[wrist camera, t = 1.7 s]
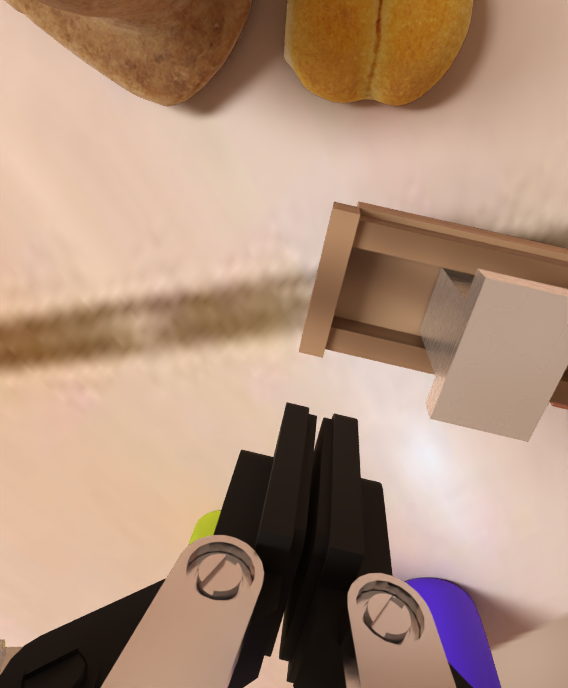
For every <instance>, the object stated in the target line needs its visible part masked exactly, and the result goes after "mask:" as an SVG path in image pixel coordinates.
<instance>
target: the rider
mask: <svg viewBox="0 0 568 688" xmlns="http://www.w3.org/2000/svg"><path fill="white" fill-rule="evenodd" d="M419 331H420V334H421V337H422V340H423V342H424V345H425V348H426V351H427V354H428V356H429V359H430V362H431V365H432V368H433V371H434V373H435V376H436V378H435V380H434V383H433V385H432V388H431V391H430V393H429V396H428V398H427V401H426V406H427V410H428V413H429V416H430V419H434V420H438V421H442V422H446V423H451V424H455V425H459V426H463V427H468V428H472V429H476V430H480V431H485V432H489V433H493V434H497V435H502V436H506V437H510V438H514V439H518V440H523V441H527V442H529V440H530V438H531V436H532V434H533V432H534V430H535V428H536V426H537V424H538V422H539V420H540V418H541V416H542V414H543V412H544V410H545V408H546V406H547V404H548V403H549V401H550V399H551V397H552V395H553V393H554V391H555V389H556V387H557V385H558V383H559V381H560V379H561V377H562V375H563V373H564V371H565V369H566V367H567V365H568V289H565V288H560V287H556V286H552V285H547V284H543V283H539V282H534V281H530V280H525V279H521V278H517V277H512V276H508V275H503V274H499V273H495V272H490V271H486V270H482V269H477V271H476V274H475V275H474V274H469V273H465V272H461V271H456V270H452V269H448V268H443V267H441V270H440V273H439V276H438V279H437V282H436V284H435V287H434V290H433V293H432V296H431V299H430V302H429V304H428V307H427V310H426V313H425V316H424V319H423V322H422V324H421V327H420V330H419Z"/></svg>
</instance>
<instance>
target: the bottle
mask: <svg viewBox="0 0 568 688" xmlns="http://www.w3.org/2000/svg"><path fill="white" fill-rule="evenodd" d="M405 582H406V583H407V584H408V585H409V586H411V587H412V588H413V589H414V590H416V591H417V592H418V593H419V595H420V596H421V597H422V598H423V600H424V601H425V602H426V604H427V606H428V608H429V610H430V612H431V614H432V616H433V619H434V622H435V625H436V628H437V631H438V634H439V637H440V640H441V643H442V646H443V649H444V652H445V655H446V658H447V661H448V662H449V663H450V664H451V665H452V666H453V667H454V668H455V669H456V670H457V671H458V672H459V674H460V675H461V676H462V677H463V678H464V679H465V680H466V681H467V682H468V683H469V684H470V685H471V686H472V687H473V688H501V685H500V682H499V679H498V675H497V671H496V668H495V664H494V661H493V658H492V654H491V650H490V647H489V644H488V640H487V637H486V634H485V631H484V628H483V625H482V621H481V618H480V616H479V613H478V611H477V609H476V606H475V604H474V602H473V600H472V599H471V597H470V596H469V595H468V594H467V593H466V592H465V591H464V590H462V589H461V588H460V587H458V586H457V585H455V584H453V583H451V582H448V581H445V580H441V579H436V578H417V579H412V580H408V581H405Z"/></svg>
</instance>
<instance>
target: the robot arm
mask: <svg viewBox="0 0 568 688" xmlns="http://www.w3.org/2000/svg"><path fill="white" fill-rule="evenodd" d="M316 421H317V416H315V415H311V414H309V408H308V407H304V406H300V405H296V404H292V403H286V407H285V411H284V415H283V420H282V424H281V428H280V432H279V436H278V441H277V445H276V449H275V453H274V457H271V456H266V455H262V454H258V453H254V452H250V451H245V450H241V452H240V454H239V457H238V460H237V464H236V467H235V470H234V473H233V476H232V479H231V482H230V485H229V488H228V491H227V494H226V497H225V500H224V503H223V507H222V510H221V513H220V516H219V519H218V522H217V525H216V528H215V531H214V534H213V535H210V536H207V537H203V538H199V539H198V540H196V541H194V542H193V543H191V544H189V545H188V546H187V547H186V549H185V550H184V551H183V552H182V553H181V555H180V556H179V558H178V560H177V561H176V563H175V565H174V566H173V568H172V570H171V571H170V573H169V575H168V576H167V578H166V579H164V580H161V581H159V582H157V583H155V584H153V585H150V586H148V587H146V588H144V589H142V590H139V591H137V592H135V593H133V594H131V595H129V596H126V597H124V598H122V599H120V600H118V601H115V602H113V603H111V604H109V605H107V606H105V607H102V608H100V609H98V610H96V611H94V612H91V613H89V614H87V615H85V616H83V617H81V618H78V619H76V620H74V621H72V622H70V623H67V624H65V625H63V626H61V627H59V628H57V629H54V630H52V631H50V632H48V633H46V634H43V635H41V636H39V637H38V638H36V639H34V640H33V641H31V642H30V643H28V644H26V645H25V646H24V647H5V640H0V688H243V687H245V686H246V685H248V684H249V683H251V682H252V681H254V680H255V679H256V678H258V675H259V672H260V668H261V665H262V662H263V658H264V655H265V656H269V657H270V656H271V654H272V651H273V648H274V644H275V641H276V638H277V634H278V631H279V627H280V624H281V621H282V617H283V614H284V619H283V628H282V636H281V644H280V652H279V659H281V660H285V661H289V664H288V673H287V682H291V683H294V684H293V687H294V688H473V687H472V686H471V685H470V684H469V683H468V682H467V681H466V680H465V679H464V678H463V677H462V676H461V675H460V674H459V672H458V671H457V670H456V669H455V668H454V667H453V666H452V665H451V664H450V663H449V662H448V661H447V658H446V655H445V652H444V649H443V646H442V643H441V640H440V637H439V634H438V631H437V628H436V625H435V622H434V619H433V616H432V614H431V612H430V610H429V608H428V606H427V604H426V602H425V601H424V600H423V598H422V597H421V596H420V595H419V593H418V592H417V591H416V590H414V589H413V588H412V587H411V586H409V585H408V584H407V583H406V582H404V581H402V580H400V579H398V578H396V577H394V576H392V567H391V558H390V549H389V540H388V531H387V522H386V513H385V504H384V495H383V488H382V484H381V483H380V482H375V481H371V480H367V479H363V478H361V475H360V455H359V436H358V420H357V419H355V418H351V417H347V416H342V415H338V414H334V415H333V417H332V419H328V418H323V421H322V424H321V428H320V431H319V435H318V438H317V442H316V446H315V449H314V443H315V432H316Z"/></svg>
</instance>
